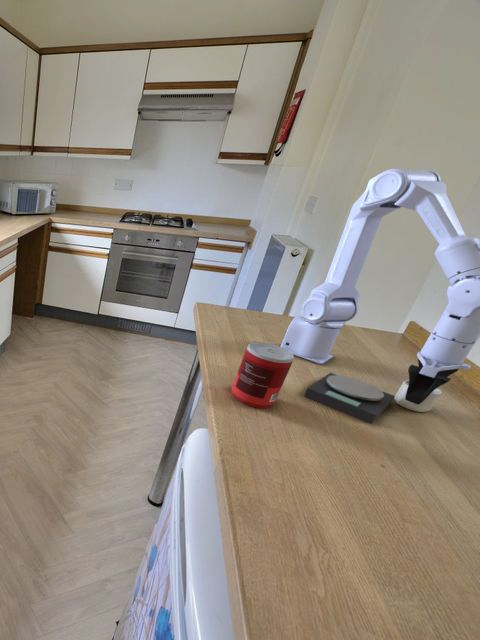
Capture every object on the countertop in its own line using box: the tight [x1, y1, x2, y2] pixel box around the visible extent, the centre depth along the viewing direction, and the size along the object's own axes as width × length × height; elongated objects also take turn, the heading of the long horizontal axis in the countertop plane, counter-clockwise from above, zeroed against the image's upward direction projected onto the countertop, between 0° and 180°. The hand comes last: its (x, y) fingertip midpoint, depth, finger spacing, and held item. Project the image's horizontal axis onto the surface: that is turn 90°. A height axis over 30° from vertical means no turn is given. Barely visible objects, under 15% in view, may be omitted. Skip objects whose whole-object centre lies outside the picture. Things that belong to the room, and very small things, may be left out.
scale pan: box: [326, 374, 384, 401], centre depth 84 cm, size 9×9×1 cm
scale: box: [303, 372, 396, 424], centre depth 84 cm, size 11×13×2 cm
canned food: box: [231, 341, 295, 409], centre depth 82 cm, size 8×8×11 cm
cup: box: [394, 379, 443, 413], centre depth 83 cm, size 5×5×4 cm
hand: (415, 397), depth 83 cm, fingers closed on cup, 5 cm apart
